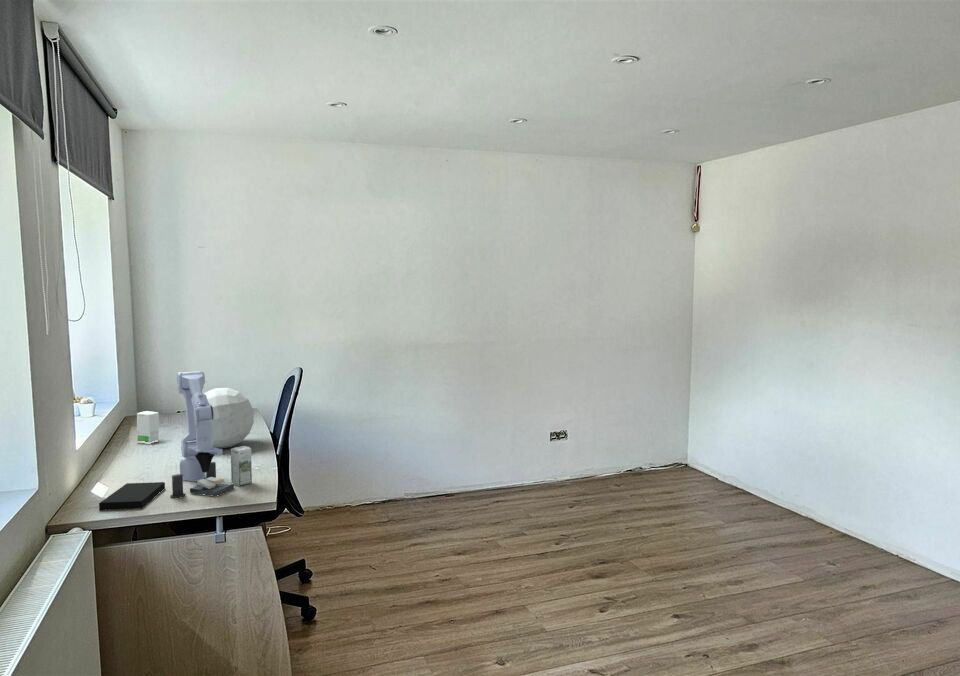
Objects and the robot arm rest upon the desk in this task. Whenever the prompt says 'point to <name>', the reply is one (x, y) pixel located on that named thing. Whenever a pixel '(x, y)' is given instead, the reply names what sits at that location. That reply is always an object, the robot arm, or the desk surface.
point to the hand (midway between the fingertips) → (205, 471)
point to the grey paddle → (206, 483)
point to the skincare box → (147, 426)
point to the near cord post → (177, 486)
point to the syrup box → (241, 465)
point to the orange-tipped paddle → (215, 480)
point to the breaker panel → (212, 489)
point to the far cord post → (211, 470)
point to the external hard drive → (132, 496)
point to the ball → (229, 416)
